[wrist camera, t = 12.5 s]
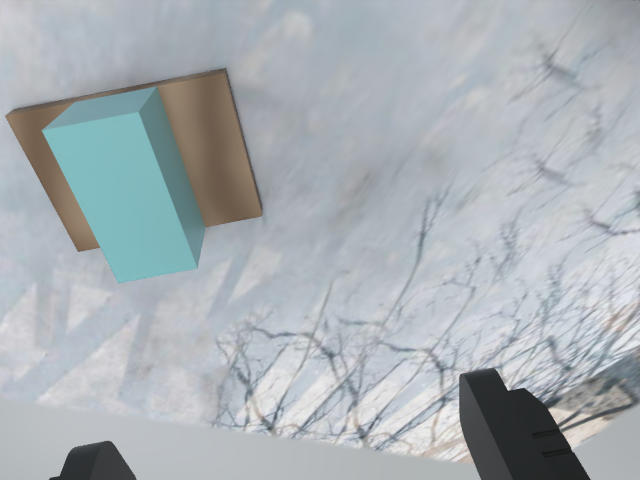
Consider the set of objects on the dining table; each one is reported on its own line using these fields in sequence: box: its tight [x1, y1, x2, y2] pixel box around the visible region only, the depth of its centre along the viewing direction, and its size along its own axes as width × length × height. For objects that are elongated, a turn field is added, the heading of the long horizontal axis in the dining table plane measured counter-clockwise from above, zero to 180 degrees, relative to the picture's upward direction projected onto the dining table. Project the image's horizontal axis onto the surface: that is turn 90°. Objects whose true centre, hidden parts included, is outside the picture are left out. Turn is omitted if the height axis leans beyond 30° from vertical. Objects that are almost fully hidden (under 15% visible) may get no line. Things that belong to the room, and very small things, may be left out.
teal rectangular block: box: [42, 86, 205, 283], centre depth 35 cm, size 6×12×6 cm, turn 9°
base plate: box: [5, 68, 262, 252], centre depth 36 cm, size 16×12×4 cm
